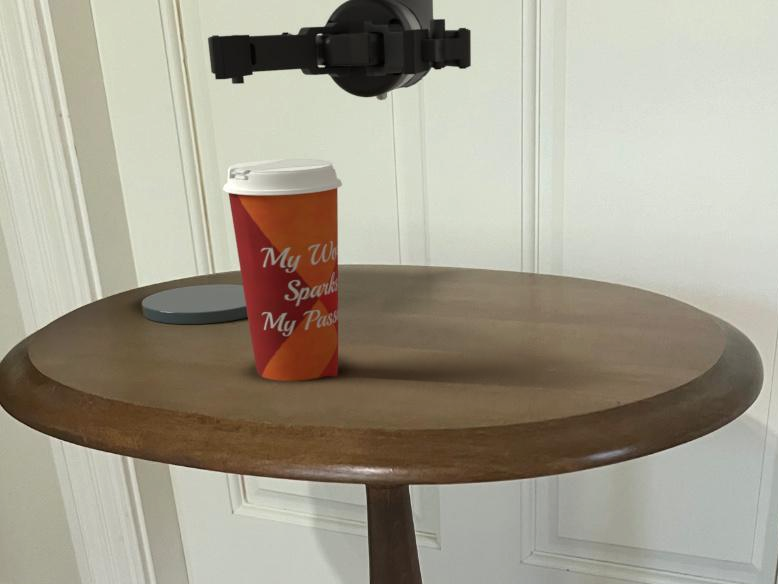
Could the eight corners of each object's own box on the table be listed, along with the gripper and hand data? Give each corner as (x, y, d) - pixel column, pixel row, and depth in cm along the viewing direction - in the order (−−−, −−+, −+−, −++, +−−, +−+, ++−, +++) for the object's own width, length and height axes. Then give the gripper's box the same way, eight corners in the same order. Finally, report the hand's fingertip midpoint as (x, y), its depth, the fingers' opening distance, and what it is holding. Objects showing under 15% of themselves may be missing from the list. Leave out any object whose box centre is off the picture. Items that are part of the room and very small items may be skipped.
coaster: (119, 321, 92) (117, 309, 92) (179, 293, 102) (178, 282, 101) (237, 327, 90) (236, 315, 89) (288, 297, 99) (287, 286, 98)
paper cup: (285, 401, 71) (265, 175, 65) (222, 378, 77) (197, 166, 70) (376, 376, 76) (366, 162, 69) (311, 355, 81) (296, 154, 74)
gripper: (516, 91, 93) (490, 110, 75) (239, 98, 97) (150, 117, 79) (518, -9, 90) (491, -14, 71) (230, 2, 94) (134, 0, 75)
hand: (311, 55), depth 75 cm, fingers open, 13 cm apart
